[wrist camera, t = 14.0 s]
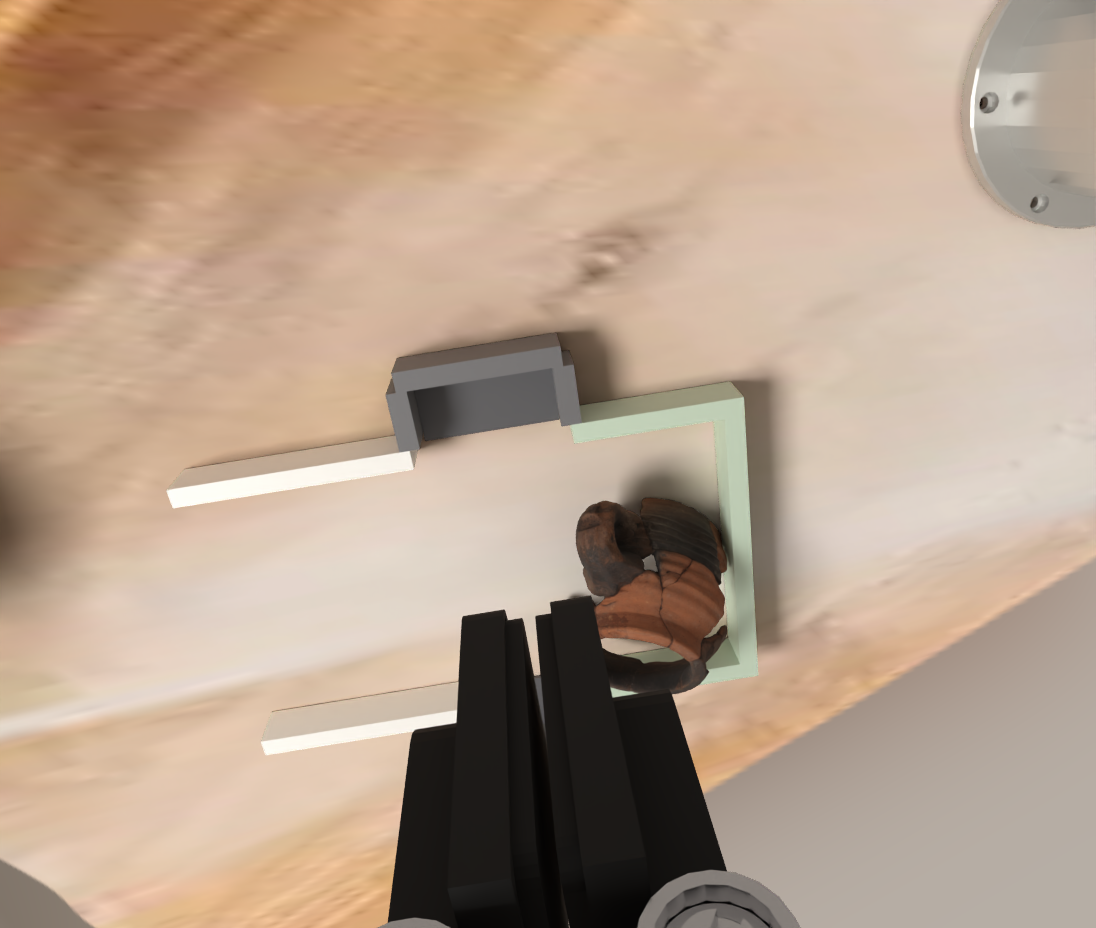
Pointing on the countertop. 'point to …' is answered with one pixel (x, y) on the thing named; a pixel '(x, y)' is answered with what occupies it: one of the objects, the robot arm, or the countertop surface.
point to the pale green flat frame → (477, 406)
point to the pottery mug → (655, 588)
